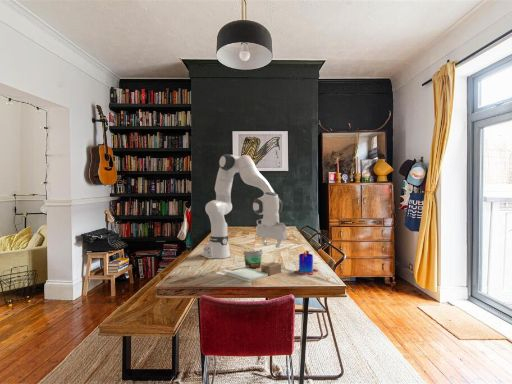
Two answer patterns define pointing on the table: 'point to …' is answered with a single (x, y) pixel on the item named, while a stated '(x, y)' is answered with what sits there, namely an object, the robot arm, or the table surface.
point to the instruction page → (223, 272)
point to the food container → (253, 259)
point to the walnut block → (271, 268)
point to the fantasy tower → (306, 264)
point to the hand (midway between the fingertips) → (271, 246)
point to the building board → (247, 274)
